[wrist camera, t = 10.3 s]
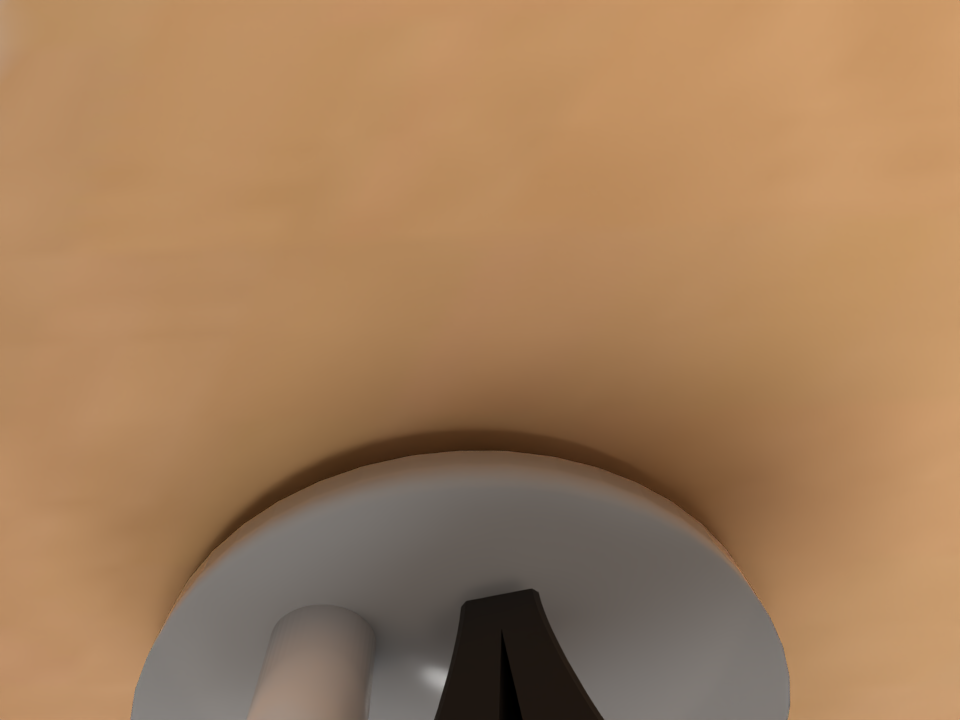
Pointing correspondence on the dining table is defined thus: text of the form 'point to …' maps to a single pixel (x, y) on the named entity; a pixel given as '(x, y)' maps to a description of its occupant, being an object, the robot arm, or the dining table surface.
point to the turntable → (463, 598)
